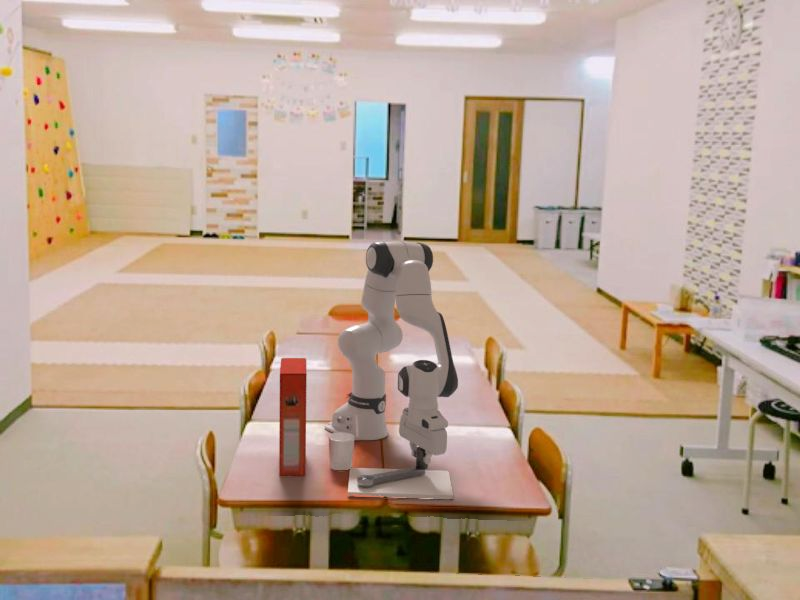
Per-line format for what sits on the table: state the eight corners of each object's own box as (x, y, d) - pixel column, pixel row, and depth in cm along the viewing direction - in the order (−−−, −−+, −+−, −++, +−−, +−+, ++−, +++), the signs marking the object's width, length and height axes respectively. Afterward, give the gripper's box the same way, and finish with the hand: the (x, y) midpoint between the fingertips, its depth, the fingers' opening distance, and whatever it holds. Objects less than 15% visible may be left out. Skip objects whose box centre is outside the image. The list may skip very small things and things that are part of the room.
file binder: (278, 476, 259) (279, 373, 253) (279, 455, 276) (281, 357, 270) (305, 476, 260) (307, 373, 254) (305, 455, 277) (307, 358, 271)
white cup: (334, 473, 263) (334, 442, 261) (324, 464, 270) (324, 434, 268) (357, 470, 266) (358, 439, 264) (347, 461, 273) (348, 430, 271)
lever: (362, 488, 248) (363, 462, 246) (354, 482, 252) (354, 456, 251) (431, 475, 260) (432, 450, 258) (422, 469, 264) (423, 444, 262)
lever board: (347, 497, 247) (347, 491, 246) (349, 472, 264) (350, 467, 264) (452, 500, 248) (453, 494, 247) (448, 475, 265) (448, 470, 265)
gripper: (394, 407, 265) (393, 450, 267) (433, 427, 248) (431, 472, 251) (412, 404, 268) (410, 446, 271) (451, 423, 252) (449, 468, 254)
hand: (420, 459), depth 261 cm, fingers open, 5 cm apart
